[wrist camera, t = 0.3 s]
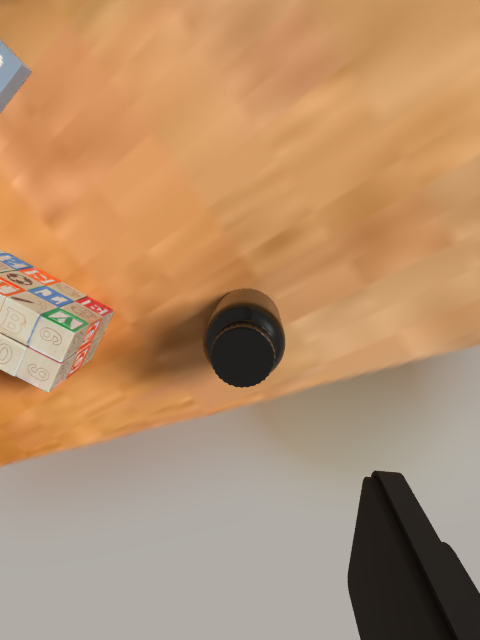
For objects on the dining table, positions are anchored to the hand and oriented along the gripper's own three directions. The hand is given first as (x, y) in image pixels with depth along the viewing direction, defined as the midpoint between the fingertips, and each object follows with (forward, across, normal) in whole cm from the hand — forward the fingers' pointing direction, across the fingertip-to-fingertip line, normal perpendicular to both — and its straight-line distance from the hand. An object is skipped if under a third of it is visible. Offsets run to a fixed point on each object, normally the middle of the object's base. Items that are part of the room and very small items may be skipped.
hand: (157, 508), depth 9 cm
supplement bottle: (+31, -1, +3) cm, 31 cm away
